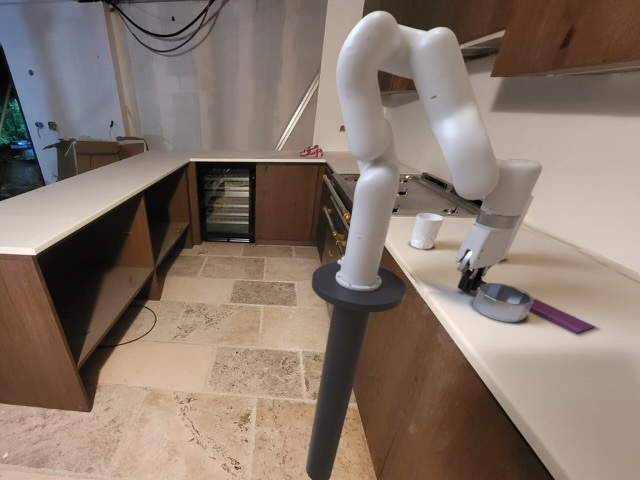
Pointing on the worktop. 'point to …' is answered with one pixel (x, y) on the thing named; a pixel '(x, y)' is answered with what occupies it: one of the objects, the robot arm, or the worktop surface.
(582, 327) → the purple flat block
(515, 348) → the worktop surface
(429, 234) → the white cup
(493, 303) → the pan
